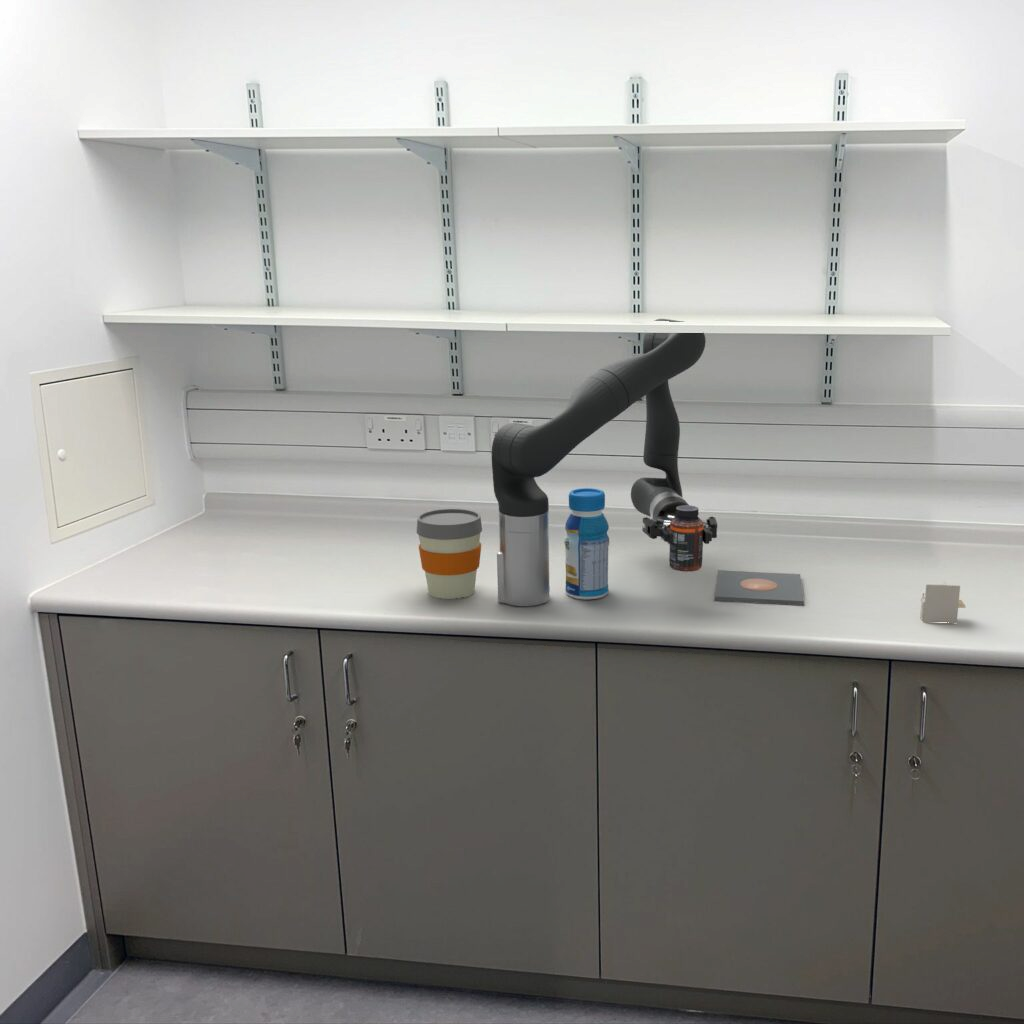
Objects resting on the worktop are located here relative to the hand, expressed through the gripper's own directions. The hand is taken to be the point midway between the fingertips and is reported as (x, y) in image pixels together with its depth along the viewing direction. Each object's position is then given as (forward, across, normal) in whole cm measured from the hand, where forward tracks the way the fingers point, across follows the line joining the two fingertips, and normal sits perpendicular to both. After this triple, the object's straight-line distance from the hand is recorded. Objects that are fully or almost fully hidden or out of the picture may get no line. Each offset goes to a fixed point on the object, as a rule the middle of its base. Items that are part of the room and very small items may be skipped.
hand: (689, 538), depth 187 cm
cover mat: (-11, +16, +13) cm, 24 cm away
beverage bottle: (-11, -17, +14) cm, 25 cm away
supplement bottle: (-2, 0, +6) cm, 7 cm away
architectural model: (+9, +42, +14) cm, 45 cm away
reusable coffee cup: (-15, -43, +15) cm, 48 cm away
